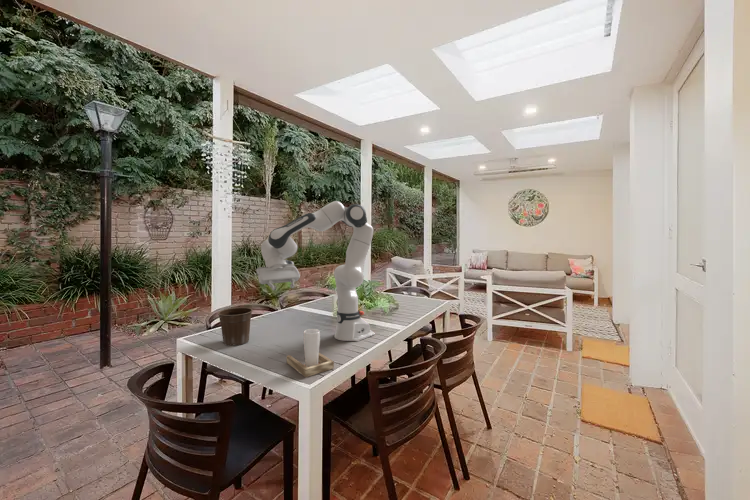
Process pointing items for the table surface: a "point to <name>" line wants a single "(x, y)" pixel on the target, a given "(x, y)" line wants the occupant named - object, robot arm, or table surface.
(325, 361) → the guide channel
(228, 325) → the plant pot
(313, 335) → the white cup
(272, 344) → the table surface
